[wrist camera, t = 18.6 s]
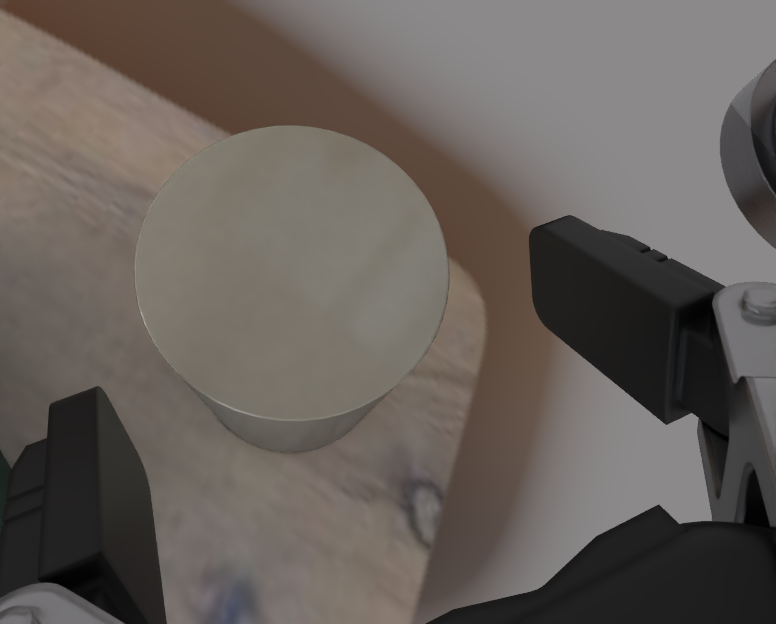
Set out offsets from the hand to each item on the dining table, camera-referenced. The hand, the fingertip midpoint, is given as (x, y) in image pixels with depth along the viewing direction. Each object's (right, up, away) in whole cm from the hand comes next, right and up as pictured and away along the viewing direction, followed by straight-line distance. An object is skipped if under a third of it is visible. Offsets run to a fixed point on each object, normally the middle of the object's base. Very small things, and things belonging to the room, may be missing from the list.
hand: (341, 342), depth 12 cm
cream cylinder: (-2, -1, +11) cm, 11 cm away
